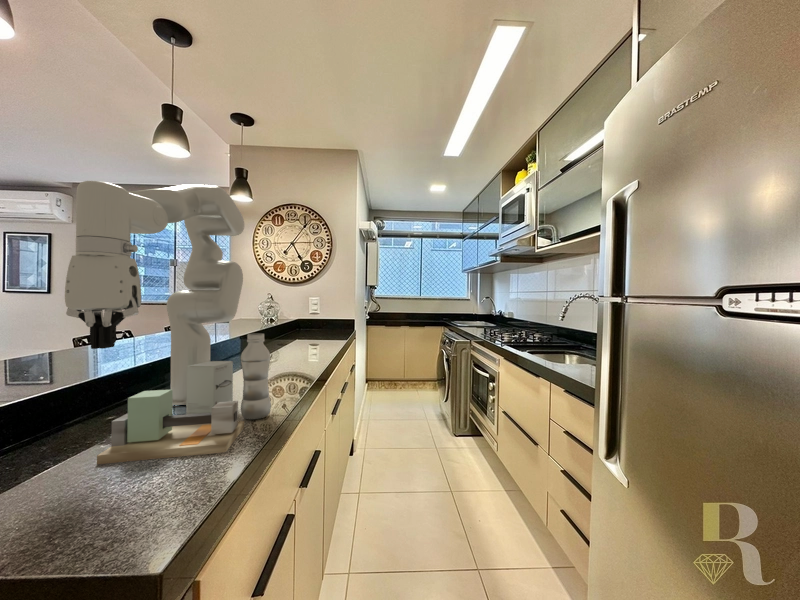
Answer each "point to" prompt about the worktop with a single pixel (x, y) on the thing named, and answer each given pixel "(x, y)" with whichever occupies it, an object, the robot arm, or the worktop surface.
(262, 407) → the plastic bottle
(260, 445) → the worktop surface
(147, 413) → the pale green block
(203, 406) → the supplement box
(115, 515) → the worktop surface
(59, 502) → the worktop surface
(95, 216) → the robot arm
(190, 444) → the cable board
